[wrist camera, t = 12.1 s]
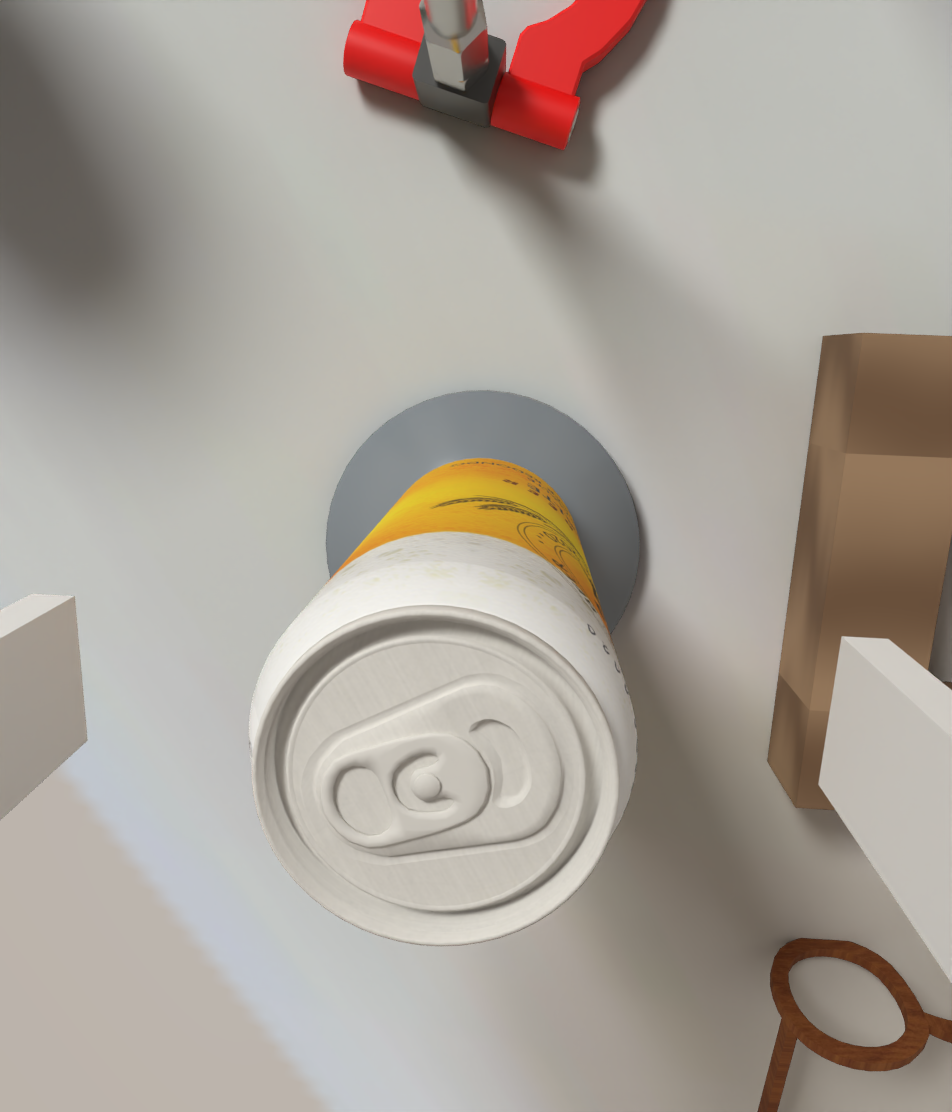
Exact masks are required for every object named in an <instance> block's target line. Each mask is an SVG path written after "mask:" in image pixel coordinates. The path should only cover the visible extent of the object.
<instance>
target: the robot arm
mask: <svg viewBox="0 0 952 1112" xmlns="http://www.w3.org/2000/svg"><path fill="white" fill-rule="evenodd" d="M86 741H87V729H86V717H85V706H84V695H83V684H82V673H81V662H80V651H79V639H78V628H77V617H76V606H75V596H64V595H44V594H30V595H28V596H27V597H25V598H23V599H21V600H19V601H17V602H15V603H13V604H11V605H9V606H7V607H5V608H3V609H1V610H0V820H1V819H2V818H3V817H5V816H6V815H7V814H8V813H9V812H10V811H11V810H12V809H13V808H14V807H15V806H17V805H18V804H19V803H20V802H21V801H22V800H23V799H24V798H25V797H26V796H27V795H29V794H30V792H32V791H33V790H34V789H35V788H36V787H37V786H38V785H39V784H41V782H43V781H44V780H45V779H46V778H47V777H48V776H49V775H50V774H51V773H53V772H54V771H55V770H56V769H57V768H58V767H59V766H60V765H61V764H62V763H63V762H65V761H66V760H67V759H68V758H69V757H70V756H71V755H72V754H73V753H74V752H75V751H77V750H78V749H79V748H80V747H81V746H82V745H83V744H84V743H85V742H86ZM818 785H819V786H820V788H821V789H822V791H823V792H824V794H825V795H826V797H827V798H828V800H829V801H830V803H831V804H832V805H833V807H834V808H835V810H836V811H837V813H838V814H839V816H840V817H841V819H842V820H843V822H844V823H845V825H846V826H847V828H848V829H849V831H850V832H851V834H852V835H853V837H854V838H855V840H856V841H857V843H858V844H859V846H860V847H861V849H862V850H863V852H864V853H865V855H866V856H867V858H868V859H869V861H870V862H871V864H872V865H873V867H874V868H875V870H876V871H877V873H878V874H879V876H880V877H881V879H882V880H883V882H884V883H885V885H886V886H887V888H888V889H889V891H890V892H891V894H892V895H893V897H894V898H895V900H896V901H897V903H898V904H899V906H900V907H901V909H902V910H903V912H904V913H905V915H906V916H907V918H908V919H909V921H910V922H911V924H912V925H913V927H914V928H915V930H916V931H917V932H918V934H919V935H920V937H921V938H922V940H923V941H924V943H925V944H926V946H927V947H928V949H929V950H930V952H931V953H932V955H933V956H934V958H935V959H936V961H937V962H938V964H939V965H940V967H941V968H942V970H943V971H944V973H945V974H946V976H947V977H948V979H949V980H950V982H951V983H952V690H951V689H950V688H948V687H947V686H946V685H945V684H943V683H942V682H941V681H940V680H939V679H937V678H936V677H935V676H934V675H932V674H931V673H930V672H929V671H927V670H926V669H925V668H924V667H922V666H921V665H920V664H919V663H918V662H916V661H915V660H914V659H913V658H911V657H910V656H909V655H908V654H906V653H905V652H904V651H903V650H902V649H900V648H899V647H898V646H897V645H895V644H894V643H893V642H892V641H890V640H889V639H883V638H864V637H845V636H842V637H841V643H840V650H839V656H838V662H837V669H836V675H835V682H834V688H833V694H832V701H831V707H830V713H829V720H828V726H827V732H826V739H825V745H824V751H823V758H822V764H821V770H820V777H819V783H818Z"/></svg>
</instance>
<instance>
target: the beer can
mask: <svg viewBox="0 0 952 1112" xmlns="http://www.w3.org/2000/svg"><path fill="white" fill-rule="evenodd" d="M637 746H638V739H637V730H636V720H635V715H634V711H633V707H632V703H631V699H630V695H629V692H628V689H627V686H626V683H625V680H624V677H623V673H622V670H621V667H620V664H619V661H618V658H617V655H616V652H615V648H614V645H613V642H612V639H611V636H610V633H609V630H608V627H607V623H606V620H605V617H604V614H603V611H602V608H601V605H600V602H599V598H598V595H597V592H596V589H595V586H594V583H593V580H592V577H591V573H590V570H589V567H588V564H587V561H586V558H585V555H584V552H583V549H582V545H581V542H580V539H579V536H578V533H577V530H576V527H575V524H574V521H573V519H572V516H571V514H570V512H569V510H568V508H567V507H566V505H565V504H564V502H563V501H562V499H561V498H560V496H559V495H558V494H557V493H556V492H555V491H554V489H553V488H552V487H551V486H550V485H548V484H547V483H546V482H545V481H544V480H543V479H541V478H540V477H538V476H537V475H536V474H534V473H532V472H531V471H529V470H527V469H525V468H523V467H521V466H518V465H516V464H513V463H510V462H506V461H503V460H497V459H491V458H471V459H463V460H458V461H454V462H451V463H448V464H445V465H442V466H440V467H438V468H436V469H434V470H432V471H430V472H429V473H427V474H425V475H424V476H422V477H421V478H420V479H419V480H417V481H416V482H415V483H414V484H413V485H412V486H411V487H410V488H409V489H408V490H407V491H406V492H405V493H404V494H403V495H402V497H401V498H400V499H399V500H398V501H397V502H396V504H395V505H394V506H393V507H392V508H391V509H390V510H389V512H388V513H387V514H386V515H385V516H384V517H383V518H382V520H381V521H380V522H379V523H378V524H377V525H376V527H375V528H374V529H373V530H372V531H371V532H370V533H369V535H368V536H367V537H366V538H365V539H364V540H363V542H362V543H361V544H360V545H359V546H358V547H357V548H356V550H355V551H354V552H353V553H352V554H351V555H350V557H349V558H348V559H347V560H346V561H345V562H344V563H343V565H342V566H341V567H340V568H339V569H338V570H337V571H336V573H335V574H334V575H333V576H332V577H331V578H330V580H329V581H328V582H327V583H326V584H325V585H324V586H323V588H322V589H321V590H320V591H319V592H318V593H317V595H316V596H315V597H314V598H313V599H312V600H311V601H310V603H309V604H308V605H307V606H306V607H305V608H304V610H303V611H302V612H301V613H300V614H299V615H298V616H297V618H296V619H295V620H294V621H293V622H292V623H291V625H290V626H289V627H288V628H287V630H286V631H285V632H284V633H283V635H282V636H281V637H280V639H279V640H278V641H277V643H276V645H275V646H274V648H273V650H272V651H271V653H270V655H269V656H268V658H267V660H266V662H265V664H264V667H263V669H262V671H261V674H260V676H259V678H258V682H257V685H256V688H255V692H254V695H253V699H252V705H251V712H250V718H249V748H250V759H251V764H252V787H253V796H254V801H255V805H256V810H257V814H258V817H259V820H260V823H261V826H262V829H263V831H264V834H265V836H266V838H267V840H268V842H269V844H270V846H271V848H272V850H273V852H274V853H275V855H276V856H277V858H278V860H279V861H280V863H281V864H282V866H283V867H284V868H285V870H286V871H287V872H288V873H289V875H290V876H291V877H292V878H293V880H294V881H295V882H296V883H297V884H298V885H299V886H300V887H301V888H302V889H303V890H304V891H305V892H306V893H307V894H308V895H309V896H310V897H311V898H313V899H314V900H315V901H316V902H318V903H319V904H320V905H321V906H323V907H324V908H325V909H327V910H328V911H330V912H331V913H333V914H334V915H336V916H338V917H339V918H341V919H342V920H344V921H346V922H348V923H350V924H352V925H354V926H356V927H358V928H360V929H362V930H365V931H368V932H370V933H373V934H375V935H378V936H381V937H385V938H388V939H392V940H396V941H399V942H405V943H411V944H417V945H428V946H460V945H468V944H475V943H481V942H485V941H489V940H494V939H498V938H501V937H504V936H507V935H509V934H512V933H515V932H518V931H520V930H522V929H524V928H526V927H528V926H530V925H532V924H534V923H536V922H538V921H539V920H541V919H543V918H544V917H546V916H547V915H549V914H550V913H552V912H553V911H555V910H556V909H557V908H558V907H560V906H561V905H562V904H563V903H565V902H566V901H567V900H568V899H569V898H570V897H571V896H572V895H573V894H574V893H575V892H576V891H577V890H578V889H579V888H580V887H581V886H582V885H583V883H584V882H585V881H586V879H587V878H588V877H589V875H590V874H591V873H592V871H593V870H594V868H595V867H596V865H597V863H598V862H599V860H600V858H601V856H602V855H603V853H604V851H605V848H606V846H607V843H608V841H609V839H610V838H611V836H612V834H613V833H614V831H615V829H616V828H617V826H618V824H619V822H620V820H621V818H622V816H623V813H624V811H625V809H626V806H627V804H628V802H629V798H630V795H631V791H632V788H633V784H634V779H635V772H636V766H637Z"/></svg>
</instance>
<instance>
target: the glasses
mask: <svg viewBox="0 0 952 1112" xmlns="http://www.w3.org/2000/svg"><path fill="white" fill-rule="evenodd" d="M821 956H826V957H834V958H839V959H843V960H847V961H850V962H852V963H855V964H857V965H860V966H861V967H863V968H865V969H867V970H868V971H870V972H871V973H872V974H874V975H875V976H876V977H877V978H879V979H880V981H881V982H882V983H883V984H884V985H885V986H886V987H887V988H888V990H889V991H890V993H891V994H892V996H893V997H894V999H895V1000H896V1002H897V1004H898V1006H899V1008H900V1010H901V1012H902V1015H903V1018H904V1021H905V1032H904V1034H903V1035H902V1036H901V1037H900V1038H899V1039H898V1040H897V1041H895V1042H893V1043H891V1044H889V1045H885V1046H880V1047H862V1046H855V1045H851V1044H848V1043H844V1042H841V1041H839V1040H836V1039H834V1038H832V1037H830V1036H828V1035H826V1034H825V1033H823V1032H822V1031H820V1030H819V1029H817V1028H816V1027H815V1026H814V1025H813V1024H812V1023H811V1022H809V1021H808V1019H807V1018H806V1017H805V1016H804V1015H803V1013H802V1012H801V1011H800V1009H799V1007H798V1006H797V1004H796V1002H795V1000H794V998H793V996H792V993H791V990H790V986H789V976H788V973H789V971H790V969H791V968H792V966H793V965H795V964H796V963H797V962H798V961H801V960H803V959H806V958H810V957H821ZM770 987H771V992H772V996H773V1000H774V1002H775V1005H776V1007H777V1010H778V1012H779V1014H780V1015H781V1017H782V1019H781V1023H780V1027H779V1031H778V1035H777V1038H776V1042H775V1046H774V1050H773V1054H772V1058H771V1062H770V1066H769V1070H768V1073H767V1077H766V1081H765V1085H764V1089H763V1093H762V1097H761V1101H760V1104H759V1108H758V1112H777V1110H778V1106H779V1103H780V1099H781V1095H782V1092H783V1088H784V1084H785V1081H786V1077H787V1073H788V1070H789V1066H790V1062H791V1059H792V1055H793V1051H794V1048H795V1044H796V1040H797V1038H798V1039H799V1040H800V1041H801V1042H802V1043H803V1044H804V1045H805V1046H806V1047H808V1048H809V1049H811V1050H812V1051H814V1052H815V1053H817V1054H818V1055H820V1056H821V1057H823V1058H825V1059H828V1060H830V1061H832V1062H834V1063H836V1064H839V1065H842V1066H846V1067H849V1068H853V1069H858V1070H865V1071H888V1070H893V1069H898V1068H901V1067H903V1066H905V1065H907V1064H909V1063H910V1062H911V1061H913V1060H914V1059H915V1058H916V1057H917V1056H918V1055H919V1054H920V1052H921V1051H922V1050H923V1049H924V1047H925V1045H926V1042H927V1040H928V1037H929V1035H930V1034H931V1035H933V1036H935V1037H937V1038H939V1039H942V1040H944V1041H947V1042H950V1043H952V1021H951V1020H946V1019H943V1018H939V1017H936V1016H933V1015H930V1014H927V1013H925V1012H924V1011H923V1010H922V1008H921V1006H920V1004H919V1002H918V1001H917V999H916V997H915V995H914V994H913V992H912V991H911V990H910V988H909V987H908V985H907V984H906V982H905V981H904V979H903V978H902V977H901V976H900V975H899V974H898V972H897V971H896V970H895V969H894V968H893V967H892V965H891V964H889V963H888V962H887V961H886V960H884V959H883V958H882V957H881V956H879V955H878V954H876V953H874V952H872V951H871V950H869V949H867V948H865V947H863V946H860V945H858V944H855V943H852V942H849V941H839V940H823V939H807V938H800V939H796V940H794V941H791V942H788V943H787V944H786V945H784V946H783V947H782V948H780V949H779V951H778V952H777V954H776V955H775V957H774V961H773V965H772V969H771V973H770Z"/></svg>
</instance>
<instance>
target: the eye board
mask: <svg viewBox="0 0 952 1112" xmlns="http://www.w3.org/2000/svg"><path fill="white" fill-rule="evenodd" d="M951 536H952V336H932V335H905V334H878V333H856V334H843V335H830V336H823V340H822V348H821V355H820V363H819V371H818V378H817V386H816V394H815V401H814V409H813V416H812V424H811V432H810V439H809V447H808V455H807V462H806V470H805V477H804V485H803V493H802V500H801V508H800V516H799V523H798V531H797V538H796V546H795V554H794V561H793V569H792V577H791V584H790V592H789V599H788V607H787V615H786V622H785V630H784V638H783V645H782V653H781V661H780V668H779V676H778V683H777V691H776V699H775V706H774V714H773V722H772V729H771V737H770V744H769V752H768V760H767V762H768V763H769V765H770V767H771V768H772V770H773V771H774V773H775V775H776V776H777V778H778V780H779V781H780V783H781V784H782V786H783V788H784V789H785V791H786V793H787V794H788V796H789V798H790V799H791V801H792V802H793V804H794V806H795V807H796V808H809V809H825V810H835V808H834V807H833V805H832V804H831V803H830V801H829V800H828V798H827V797H826V795H825V794H824V792H823V791H822V789H821V788H820V786H819V785H818V783H819V777H820V770H821V764H822V758H823V751H824V745H825V739H826V732H827V726H828V720H829V713H830V707H831V701H832V694H833V688H834V682H835V675H836V669H837V662H838V656H839V650H840V643H841V637H842V636H845V637H864V638H883V639H889V640H890V641H892V642H893V643H894V644H895V645H897V646H898V647H899V648H900V649H902V650H903V651H904V652H905V653H906V654H908V655H909V656H910V657H911V658H913V659H914V660H915V661H916V662H918V663H919V664H920V665H921V666H922V667H924V668H925V669H926V670H927V671H928V667H929V662H930V656H931V650H932V645H933V639H934V633H935V627H936V622H937V616H938V610H939V605H940V599H941V593H942V588H943V582H944V576H945V571H946V565H947V559H948V554H949V548H950V542H951ZM942 683H943V684H945V685H946V686H947V687H948V688H950V689H951V690H952V682H942Z"/></svg>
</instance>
